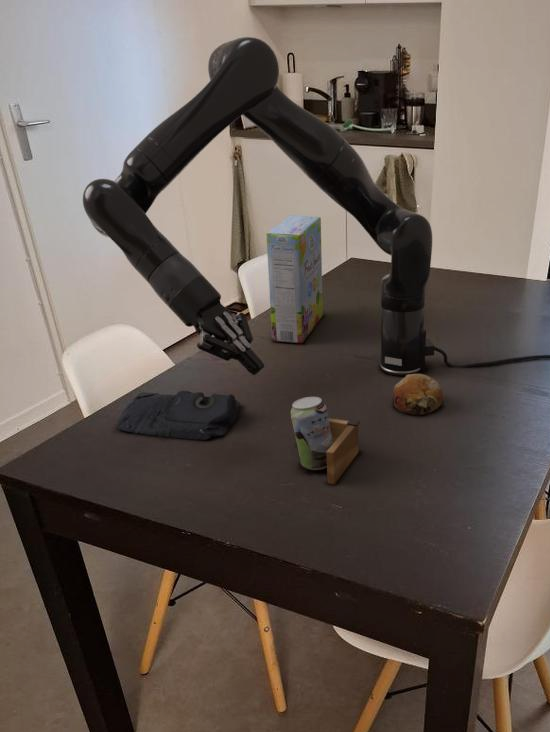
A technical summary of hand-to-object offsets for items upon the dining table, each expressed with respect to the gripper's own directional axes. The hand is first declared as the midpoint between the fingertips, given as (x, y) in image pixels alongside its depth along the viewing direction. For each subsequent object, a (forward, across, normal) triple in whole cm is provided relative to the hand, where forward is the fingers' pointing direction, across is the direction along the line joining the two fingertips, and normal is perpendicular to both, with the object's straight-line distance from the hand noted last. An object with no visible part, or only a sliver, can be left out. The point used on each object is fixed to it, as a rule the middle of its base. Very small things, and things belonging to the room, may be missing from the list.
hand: (259, 370), depth 114 cm
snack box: (-4, +60, +27) cm, 66 cm away
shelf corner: (+18, 0, +4) cm, 19 cm away
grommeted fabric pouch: (-4, +7, +27) cm, 28 cm away
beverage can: (+18, -1, +5) cm, 19 cm away
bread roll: (+25, +27, -2) cm, 37 cm away
